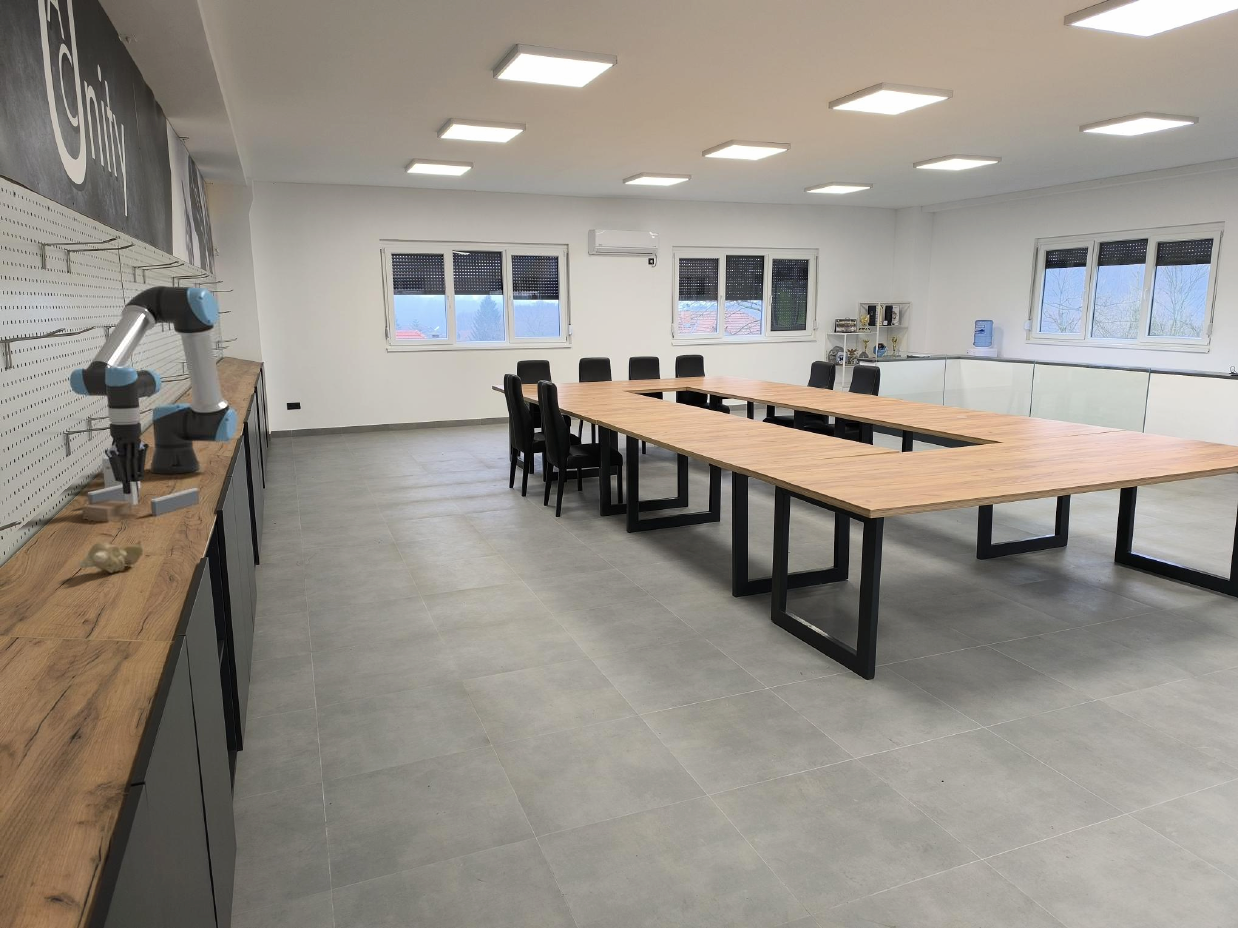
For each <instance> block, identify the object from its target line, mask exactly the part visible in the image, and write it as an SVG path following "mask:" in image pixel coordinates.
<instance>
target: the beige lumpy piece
mask: <svg viewBox="0 0 1238 928" xmlns="http://www.w3.org/2000/svg"><path fill="white" fill-rule="evenodd" d="M143 553H144V547H143V542H142V540H139V541H137V542H136V543H131V544H129V545H125V546H123V547H119V546H118V545H116V544H115V545H114V544H113V545H112V544H111V543H109V542H107V541H99V542H97V543H95V544H93V545H92V546H91V547H90V549H89V551H88V553H87V557H86V558H84V559H82V560H80V561H79V562H78V566H80V567H81V568H85V569H86V568H94V567H95V568H97V569H99V570H103V571H107V572H109V573H111V574H113V573H116V572H123V571H124V569H125V565H126V566H133V565H135V564H136V563H138V561H139V559H141V558H140V557H142V555H143Z"/></svg>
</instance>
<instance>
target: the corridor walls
mask: <svg viewBox="0 0 1238 928" xmlns="http://www.w3.org/2000/svg"><path fill="white" fill-rule="evenodd" d="M139 491H140V489H139V488H138V492H137V498H138V497H140V492H139ZM199 497H200V496H199V488H196V487H193V488H189V489H186V490H182V491H178V492H175V493H170V494H167V495H164V496H159V497H156V498H152V499H150V509H151V516H153V517H159V516H161V515H165V514H167V513H171V512H174V511H178V510H181V509H184V508H188V507H191V506H194V505H198V504H200V498H199ZM87 499H88V500H87V501H88V505H89V504H93V503H96V502H100V501H104V500H114V501H124V502H125V494H124V493H123V484H122V485H117V486H113V487H109V488H105V487H104V488H102V489H97V490H93V491H88V492H87Z"/></svg>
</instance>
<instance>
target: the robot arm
mask: <svg viewBox="0 0 1238 928" xmlns="http://www.w3.org/2000/svg"><path fill="white" fill-rule="evenodd" d="M219 312H220V311H219V305H218V302H217V300H216V297H215V296H214V295H213V294H212V292H210V291H209V289H207V288H201V287H194V286H165V285H159V286H152V287H149V288H146V289H145V290H143V291H141V292H140V293H137V295H135V296H134V297H132V298H130V300H129V301H128V302H127V303H126V304H125V305H124V308H123V309H122V311H121V318H120V320H119V321H118V323H117V324H116V326H114V328H113V330H112V331H111V333H110V334H109V336H108V338H107V339H106V340H105V342H104V343H103V344H102V346H101V347H100V349H99V350H98V352H97V353H96V355H95V356H94V358H93V359H92V360H91V362H90V364H89V365H88V366H87V367H86V368H83V367H82V368H77V369H75V370H72V372H71V373H70V376H69V384H70V388H71V391H73V392H74V393H75V394H76V395H81V396H89V397H92V396H93V397H95V396H96V397H99V396H100V397H106V398H107V412H108V413H107V414H108V421H109V422H110V423H109V426H108V427H109V435H110V437H111V438H112V442H111V447H110V448H109V449H105V450H104V454H105V455H106V457H108V458H109V461H110V465H111V468H112V471H113V474H114V478H115V480H116V481H119V482H122V484H123V493H124V494H125V500H124V502H131V506H135V505H138V503H139V501H138V497H137V492H138V481H140V482H141V479H142V478H144V475H145V467H146V457H147V452H148V449H149V447H150V446H149V443H144V442H142V439H141V436H142V433H143V432H142V424H141V423H140V421H141V410H140V401H139V400H140V399H141V398H146V397H147V398H148V397H151V396H153V395H156V394H157V393H159V392H160V391H161V388H162V383H163V382H162V379H161V376H160V375H159V374H158V373H157V372H156V371H154V370H151V369H150V370H149V369H140V370H137V369H136V368H135V366H127V365H126V364H127V362H128V361H129V359H130V358H131V356H132V355H133V353H134V352H135V350H136V348H138V345H139V344H140V342H141V341H142V339H143V338H144V336H145V334H146V333H147V332H149V331H150V330H153V328H154V327H155V325H157V324H161V323H163V324H166V323H167V324H172V325H173V328H174V332H175V333H177V334H178V335H180V337H181V338H180V339H181V341H182V347H183V351H184V352H183V353H184V358H185V361H186V366H187V372H188V375H189V382H190V387H191V391H192V396H193V400H194V401H193V402H192V404H190V403H189V402H180V403H171V404H164V405H159V406H156V407H154V408H153V410H152V421H151V422H152V427H153V428H152V429H153V439H154V441H153V442H154V452H153V455H152V460H151V463H150V465H149V466H150V467H149V468H150V472H151V473H153V474H158V475H175V474H186V473H193V472H196V471H199V470H200V468H201V467H200V466H201V465H200V461H199V460H198V458H197V454H196V452H195V450H194V443H193V442H210V443H211V442H212V443H220V442H221V443H222V442H223V443H227V442H230V441H231V440H232V439H233V437H234V436H235V434H236V433H237V429H238V417H239V416H238V412H237V411H236V409H234V408H230V406H229V402H228V401H227V400H226V399H224V398H223V396H222V390H221V386H220V385H221V384H220V379H219V374H218V373H219V372H218V368H217V365H216V364H217V363H216V357H215V353H214V348H213V342H212V337H211V332H212V331H213V329H215V324H216V323H218V320H219V314H220V313H219ZM125 365H126V366H125ZM139 478H140V479H139Z"/></svg>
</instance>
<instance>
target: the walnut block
mask: <svg viewBox="0 0 1238 928" xmlns="http://www.w3.org/2000/svg"><path fill="white" fill-rule="evenodd" d="M81 509H82V519H89V520H88V521H91V520H93V521H94V522H100V521H102V522H101V523H110V521H111V522H115V521H117V520H116V519H118V520H121V519H124V518H128V517H131V516H132V515H133V512H132V505H131V502H126V501H125V500H124V501H114V500H104V501H100V502H96V503H93V504H89V503H88V504H85V505H83V506H81ZM127 516H128V517H127ZM120 518H121V519H120ZM114 520H115V521H114Z"/></svg>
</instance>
